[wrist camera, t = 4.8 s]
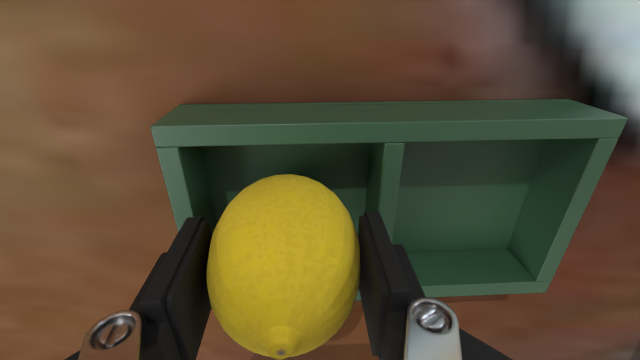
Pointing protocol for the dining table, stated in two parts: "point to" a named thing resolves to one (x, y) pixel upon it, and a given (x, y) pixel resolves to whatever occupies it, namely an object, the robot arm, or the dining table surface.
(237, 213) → the lemon
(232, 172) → the holder
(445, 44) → the dining table surface
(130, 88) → the dining table surface
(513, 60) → the dining table surface
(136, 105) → the dining table surface
